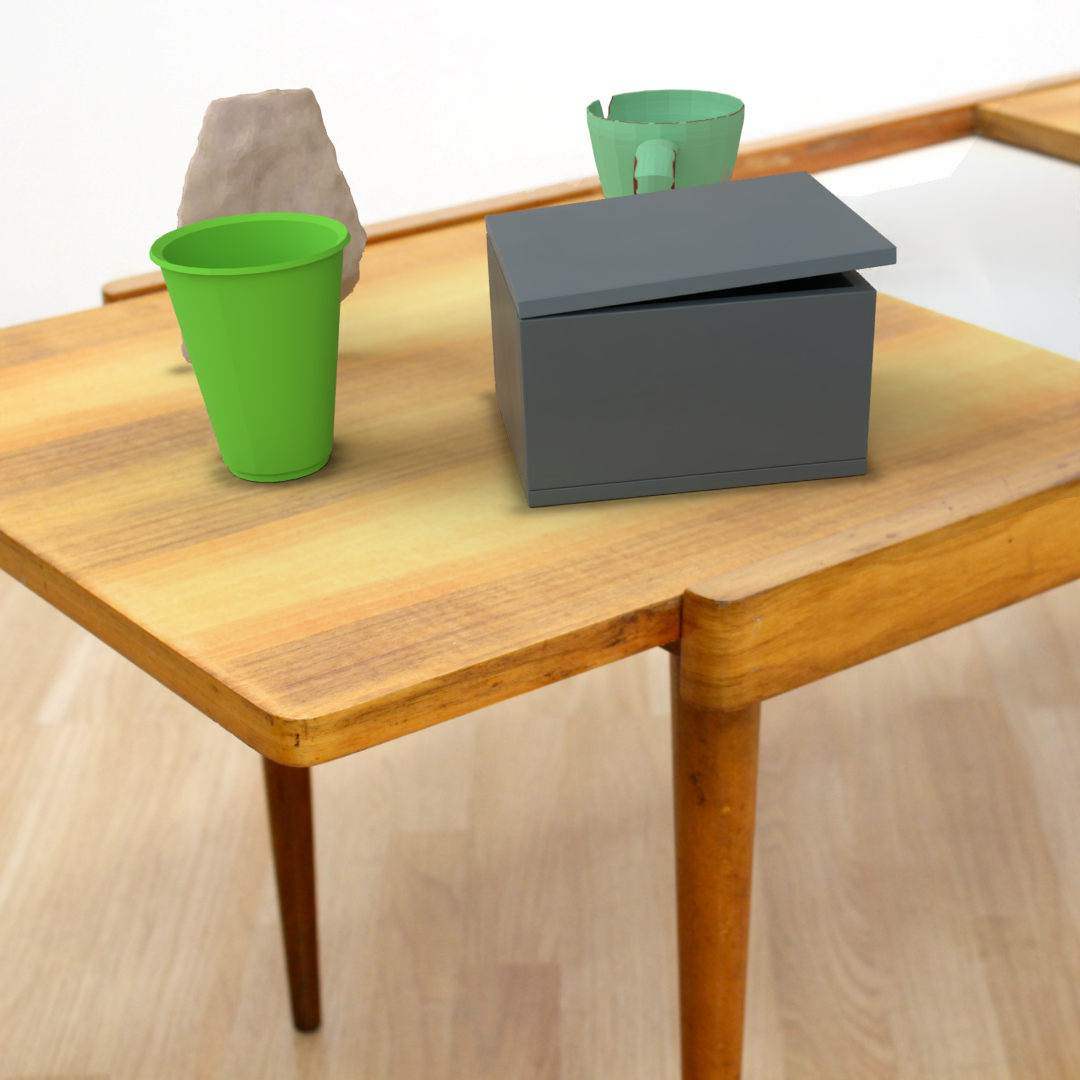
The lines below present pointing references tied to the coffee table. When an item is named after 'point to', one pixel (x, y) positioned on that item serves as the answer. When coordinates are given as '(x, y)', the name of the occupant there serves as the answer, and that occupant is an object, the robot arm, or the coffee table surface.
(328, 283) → the cup
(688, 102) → the mug
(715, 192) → the lid
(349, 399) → the coffee table surface
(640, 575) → the coffee table surface
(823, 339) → the chest
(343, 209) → the stone
